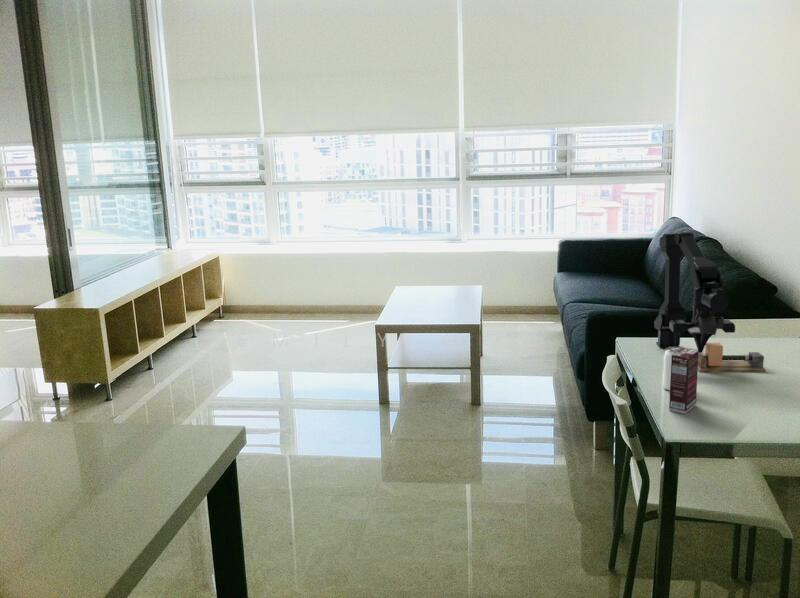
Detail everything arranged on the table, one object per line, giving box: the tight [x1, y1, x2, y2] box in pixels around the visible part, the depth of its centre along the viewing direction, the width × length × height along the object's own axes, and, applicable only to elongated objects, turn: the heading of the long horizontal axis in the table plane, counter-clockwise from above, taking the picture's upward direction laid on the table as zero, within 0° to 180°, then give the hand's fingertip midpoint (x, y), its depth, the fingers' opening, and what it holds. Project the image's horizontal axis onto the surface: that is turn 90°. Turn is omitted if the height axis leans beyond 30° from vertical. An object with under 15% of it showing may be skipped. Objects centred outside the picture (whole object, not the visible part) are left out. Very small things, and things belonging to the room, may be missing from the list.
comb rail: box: [698, 351, 767, 373], centre depth 238 cm, size 20×9×4 cm, turn 85°
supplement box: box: [668, 347, 699, 415], centre depth 204 cm, size 9×5×16 cm, turn 141°
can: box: [662, 346, 683, 392], centre depth 220 cm, size 6×6×12 cm
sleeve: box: [704, 342, 724, 366], centre depth 238 cm, size 4×4×6 cm
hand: (700, 352), depth 238 cm, fingers closed
